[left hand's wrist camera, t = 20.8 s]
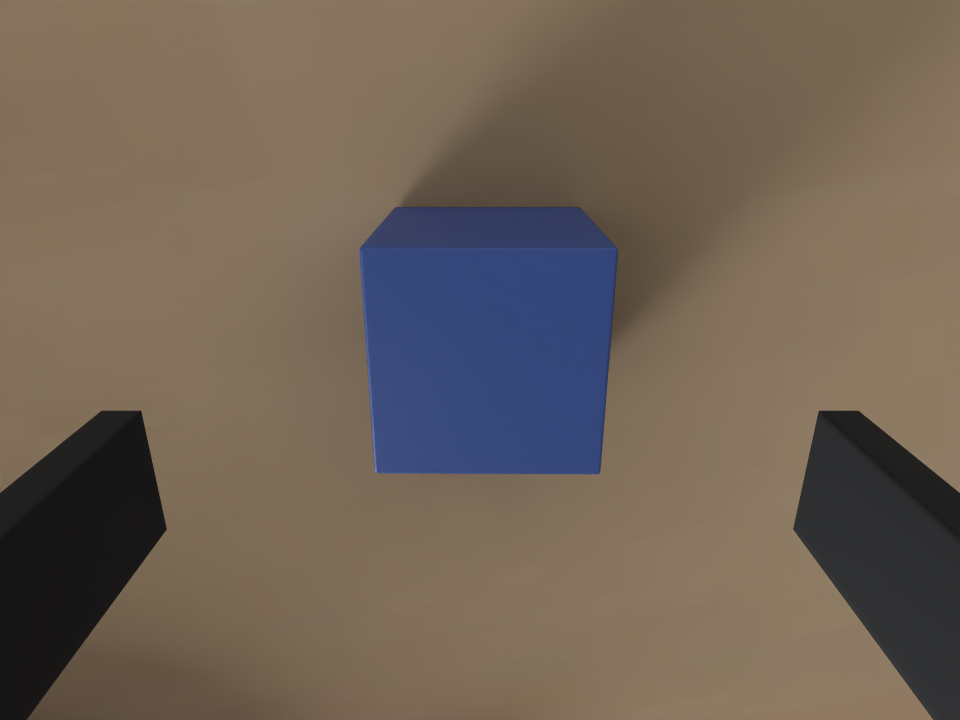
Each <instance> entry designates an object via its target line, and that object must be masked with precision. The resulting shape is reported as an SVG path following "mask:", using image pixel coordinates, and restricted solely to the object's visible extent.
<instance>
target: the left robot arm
mask: <svg viewBox="0 0 960 720" xmlns="http://www.w3.org/2000/svg"><path fill="white" fill-rule="evenodd" d="M166 530H167V528H166V523H165V519H164V514H163V510H162V505H161V500H160V496H159V491H158V486H157V482H156V477H155V473H154V468H153V463H152V459H151V454H150V450H149V445H148V440H147V436H146V431H145V426H144V422H143V417H142V413H141V411H101V412H100V413H98V414H97V415H96V416H95V417H93V418H92V419H91V420H90V421H88V422H87V423H86V424H85V425H83V426H82V427H81V428H80V429H79V430H77V431H76V432H75V433H74V434H72V435H71V436H70V437H69V438H67V439H66V440H65V441H64V442H63V443H61V444H60V445H59V446H58V447H56V448H55V449H54V450H53V451H51V452H50V453H49V454H48V455H47V456H45V457H44V458H43V459H42V460H40V461H39V462H38V463H37V464H35V465H34V466H33V467H32V468H30V469H29V470H28V471H27V472H26V473H24V474H23V475H22V476H21V477H19V478H18V479H17V480H16V481H14V482H13V483H12V484H11V485H10V486H8V487H7V488H6V489H5V490H3V491H2V492H1V493H0V720H27V718H28V717H29V716H30V714H31V713H32V712H33V710H34V709H35V708H36V706H37V705H38V703H39V702H40V701H41V699H42V698H43V697H44V695H45V694H46V693H47V691H48V690H49V689H50V687H51V686H52V684H53V683H54V682H55V680H56V679H57V678H58V676H59V675H60V674H61V672H62V671H63V670H64V668H65V667H66V665H67V664H68V663H69V661H70V660H71V659H72V657H73V656H74V655H75V653H76V652H77V650H78V649H79V648H80V646H81V645H82V644H83V642H84V641H85V640H86V638H87V637H88V636H89V634H90V633H91V631H92V630H93V629H94V627H95V626H96V625H97V623H98V622H99V621H100V619H101V618H102V617H103V615H104V614H105V612H106V611H107V610H108V608H109V607H110V606H111V604H112V603H113V602H114V600H115V599H116V598H117V596H118V595H119V593H120V592H121V591H122V589H123V588H124V587H125V585H126V584H127V583H128V581H129V580H130V578H131V577H132V576H133V574H134V573H135V572H136V570H137V569H138V568H139V566H140V565H141V564H142V562H143V561H144V559H145V558H146V557H147V555H148V554H149V553H150V551H151V550H152V549H153V547H154V546H155V545H156V543H157V542H158V540H159V539H160V538H161V536H162V535H163V534H164V532H165V531H166ZM793 530H794V531H795V532H796V534H797V535H798V536H799V538H800V539H801V540H802V542H803V543H804V545H805V546H806V547H807V549H808V550H809V551H810V553H811V554H812V555H813V557H814V558H815V559H816V561H817V562H818V564H819V565H820V566H821V568H822V569H823V570H824V572H825V573H826V574H827V576H828V577H829V578H830V580H831V581H832V583H833V584H834V585H835V587H836V588H837V589H838V591H839V592H840V593H841V595H842V596H843V598H844V599H845V600H846V602H847V603H848V604H849V606H850V607H851V608H852V610H853V611H854V612H855V614H856V615H857V617H858V618H859V619H860V621H861V622H862V623H863V625H864V626H865V627H866V629H867V630H868V631H869V633H870V634H871V636H872V637H873V638H874V640H875V641H876V642H877V644H878V645H879V646H880V648H881V649H882V650H883V652H884V653H885V655H886V656H887V657H888V659H889V660H890V661H891V663H892V664H893V665H894V667H895V668H896V670H897V671H898V672H899V674H900V675H901V676H902V678H903V679H904V680H905V682H906V683H907V684H908V686H909V687H910V689H911V690H912V691H913V693H914V694H915V695H916V697H917V698H918V699H919V701H920V702H921V703H922V705H923V706H924V708H925V709H926V710H927V712H928V713H929V714H930V716H931V717H932V718H933V720H960V493H959V492H958V491H957V490H955V489H954V488H953V487H952V486H950V485H949V484H948V483H947V482H946V481H944V480H943V479H942V478H941V477H939V476H938V475H937V474H936V473H934V472H933V471H932V470H931V469H930V468H928V467H927V466H926V465H925V464H923V463H922V462H921V461H920V460H918V459H917V458H916V457H915V456H913V455H912V454H911V453H910V452H909V451H907V450H906V449H905V448H904V447H902V446H901V445H900V444H899V443H897V442H896V441H895V440H894V439H893V438H891V437H890V436H889V435H888V434H886V433H885V432H884V431H883V430H881V429H880V428H879V427H878V426H877V425H875V424H874V423H873V422H872V421H870V420H869V419H868V418H867V417H865V416H864V415H863V414H862V413H860V412H859V411H819V413H818V417H817V422H816V426H815V431H814V436H813V440H812V445H811V450H810V454H809V459H808V463H807V468H806V473H805V477H804V482H803V486H802V491H801V496H800V500H799V505H798V510H797V514H796V519H795V523H794V528H793Z"/></svg>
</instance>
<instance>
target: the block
mask: <svg viewBox="0 0 960 720" xmlns="http://www.w3.org/2000/svg"><path fill="white" fill-rule="evenodd" d="M617 257H618V249H617V247H616V246H615V245H614V244H613V243H612V242H611V241H610V240H609V239H608V238H607V236H606V235H605V234H604V233H603V232H602V231H601V230H600V229H599V228H598V227H597V226H596V225H595V223H594V222H593V221H592V220H591V219H590V218H589V217H588V216H587V215H586V214H585V213H584V211H583V210H582V209H581V208H579V207H396V208H394V210H393V211H392V212H391V213H390V214H389V215H388V216H387V218H386V219H385V220H384V221H383V222H382V223H381V224H380V226H379V227H378V228H377V229H376V230H375V231H374V233H373V234H372V235H371V236H370V237H369V238H368V239H367V241H366V242H365V243H364V244H363V245H362V246H361V247H360V263H361V277H362V292H363V306H364V321H365V336H366V350H367V365H368V379H369V394H370V408H371V423H372V437H373V452H374V466H375V472H376V473H451V474H599V473H600V468H601V456H602V443H603V431H604V419H605V406H606V394H607V381H608V369H609V357H610V344H611V332H612V319H613V307H614V295H615V282H616V270H617Z"/></svg>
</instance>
